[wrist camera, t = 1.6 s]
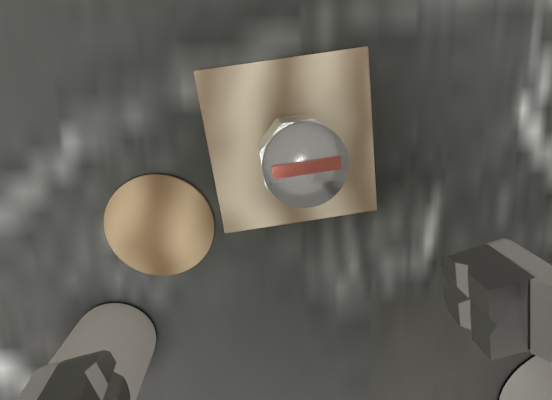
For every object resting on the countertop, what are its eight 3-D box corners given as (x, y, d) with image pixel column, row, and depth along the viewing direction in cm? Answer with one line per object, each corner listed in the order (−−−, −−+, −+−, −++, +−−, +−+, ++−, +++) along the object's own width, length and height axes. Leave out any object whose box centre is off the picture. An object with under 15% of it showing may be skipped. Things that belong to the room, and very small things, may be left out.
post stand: (360, 48, 32) (402, 36, 23) (370, 203, 36) (408, 241, 28) (196, 71, 31) (177, 68, 23) (226, 225, 36) (219, 270, 27)
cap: (328, 110, 28) (347, 117, 23) (334, 181, 30) (353, 203, 25) (254, 120, 28) (256, 130, 23) (265, 191, 30) (269, 215, 24)
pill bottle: (82, 292, 37) (-22, 426, 23) (164, 308, 38) (114, 445, 24) (72, 357, 39) (-29, 517, 25) (150, 371, 40) (96, 530, 26)
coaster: (203, 165, 34) (202, 167, 33) (223, 264, 37) (222, 266, 36) (92, 182, 34) (90, 184, 33) (122, 279, 37) (120, 282, 36)
